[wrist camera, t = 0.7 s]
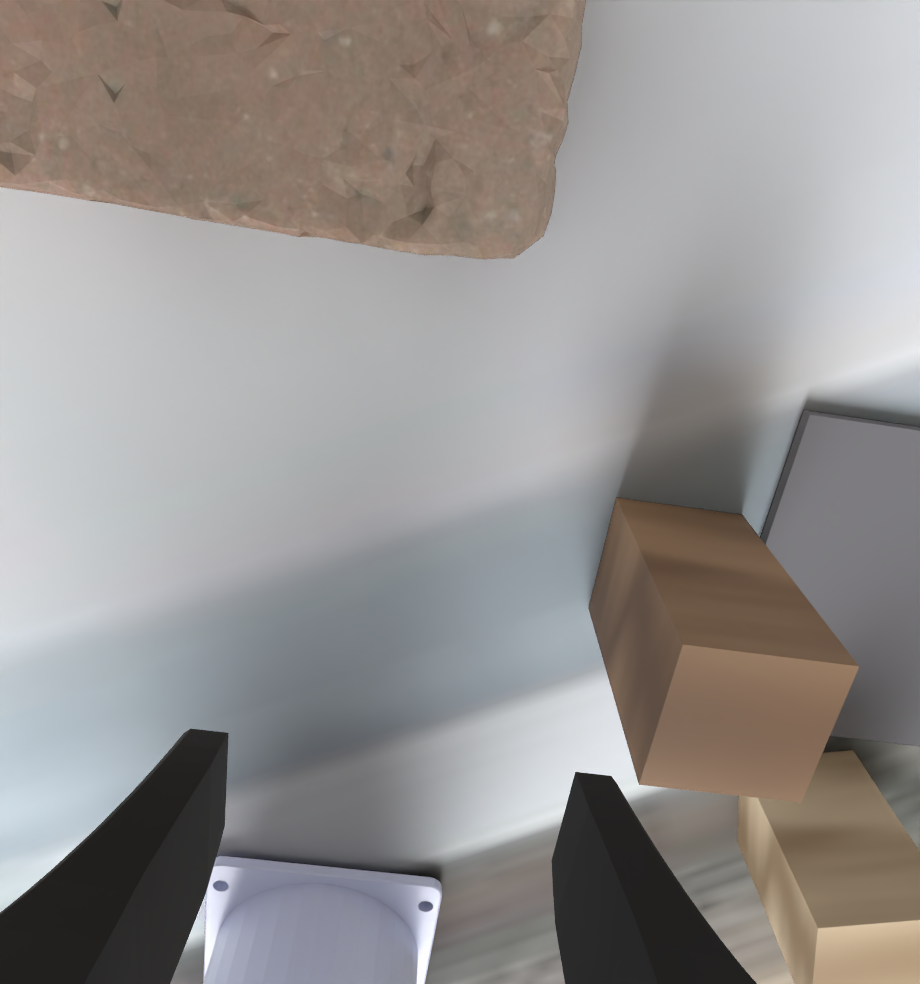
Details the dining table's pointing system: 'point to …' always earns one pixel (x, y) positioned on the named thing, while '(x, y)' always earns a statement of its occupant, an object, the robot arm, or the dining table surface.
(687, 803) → the dining table surface
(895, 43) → the dining table surface
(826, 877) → the oak block
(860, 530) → the mat
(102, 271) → the dining table surface
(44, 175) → the brick
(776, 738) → the walnut block
